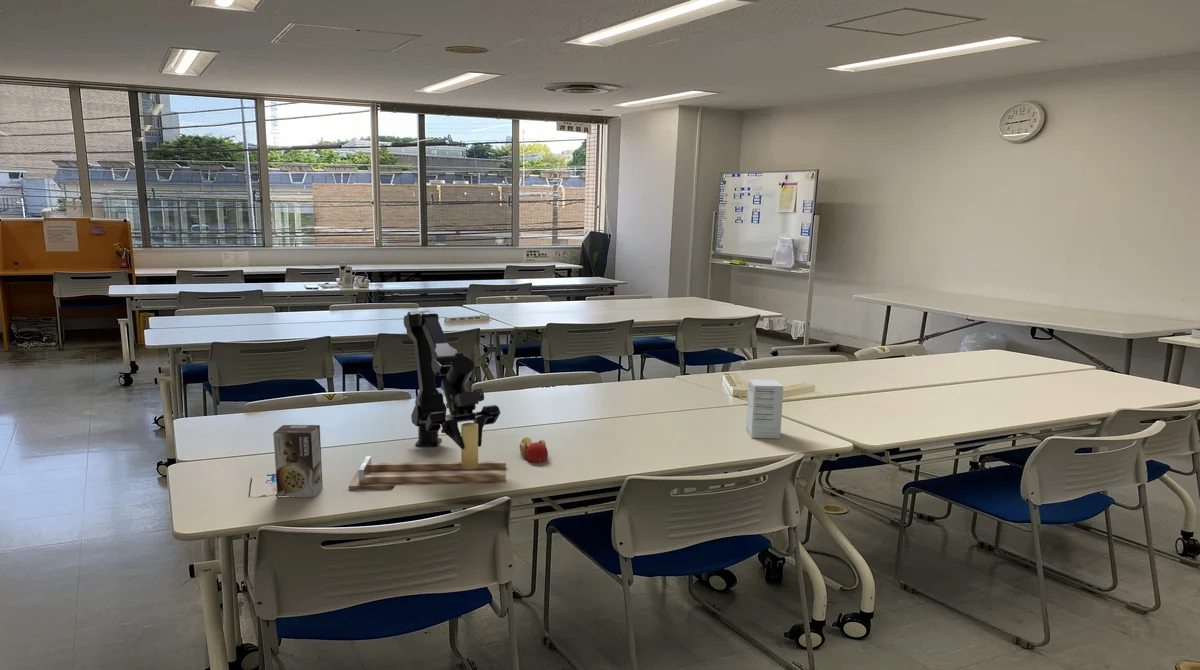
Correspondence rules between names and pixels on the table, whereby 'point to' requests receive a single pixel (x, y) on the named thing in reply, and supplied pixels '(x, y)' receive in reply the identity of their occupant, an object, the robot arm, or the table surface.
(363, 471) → the stop
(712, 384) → the table surface
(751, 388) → the supplement box
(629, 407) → the table surface
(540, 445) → the kendama
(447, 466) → the track
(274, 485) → the smartphone
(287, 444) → the coffee box
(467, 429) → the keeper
